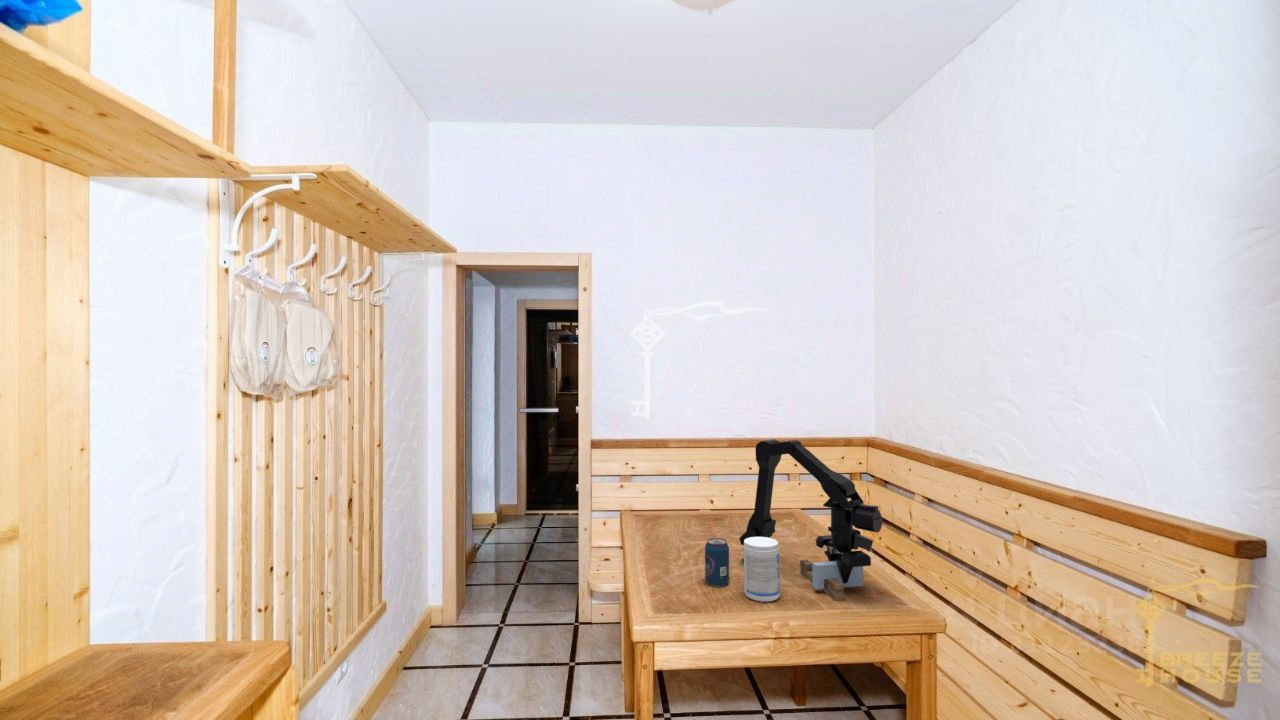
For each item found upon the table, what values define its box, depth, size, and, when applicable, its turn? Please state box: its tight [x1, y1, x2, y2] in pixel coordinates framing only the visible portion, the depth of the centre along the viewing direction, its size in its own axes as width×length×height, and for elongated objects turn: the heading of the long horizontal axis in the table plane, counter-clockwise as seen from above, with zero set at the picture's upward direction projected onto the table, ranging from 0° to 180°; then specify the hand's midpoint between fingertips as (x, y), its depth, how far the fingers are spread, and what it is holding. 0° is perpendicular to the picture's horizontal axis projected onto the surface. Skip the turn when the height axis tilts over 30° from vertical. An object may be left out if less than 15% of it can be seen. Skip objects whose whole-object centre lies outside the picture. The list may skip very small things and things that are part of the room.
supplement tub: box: [743, 537, 781, 603], centre depth 148 cm, size 10×10×15 cm
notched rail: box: [799, 559, 845, 601], centre depth 154 cm, size 20×2×4 cm, turn 11°
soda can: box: [704, 537, 730, 588], centre depth 157 cm, size 7×7×12 cm
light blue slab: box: [811, 560, 864, 590], centre depth 151 cm, size 14×2×6 cm, turn 101°
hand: (842, 581), depth 151 cm, fingers closed on light blue slab, 2 cm apart
